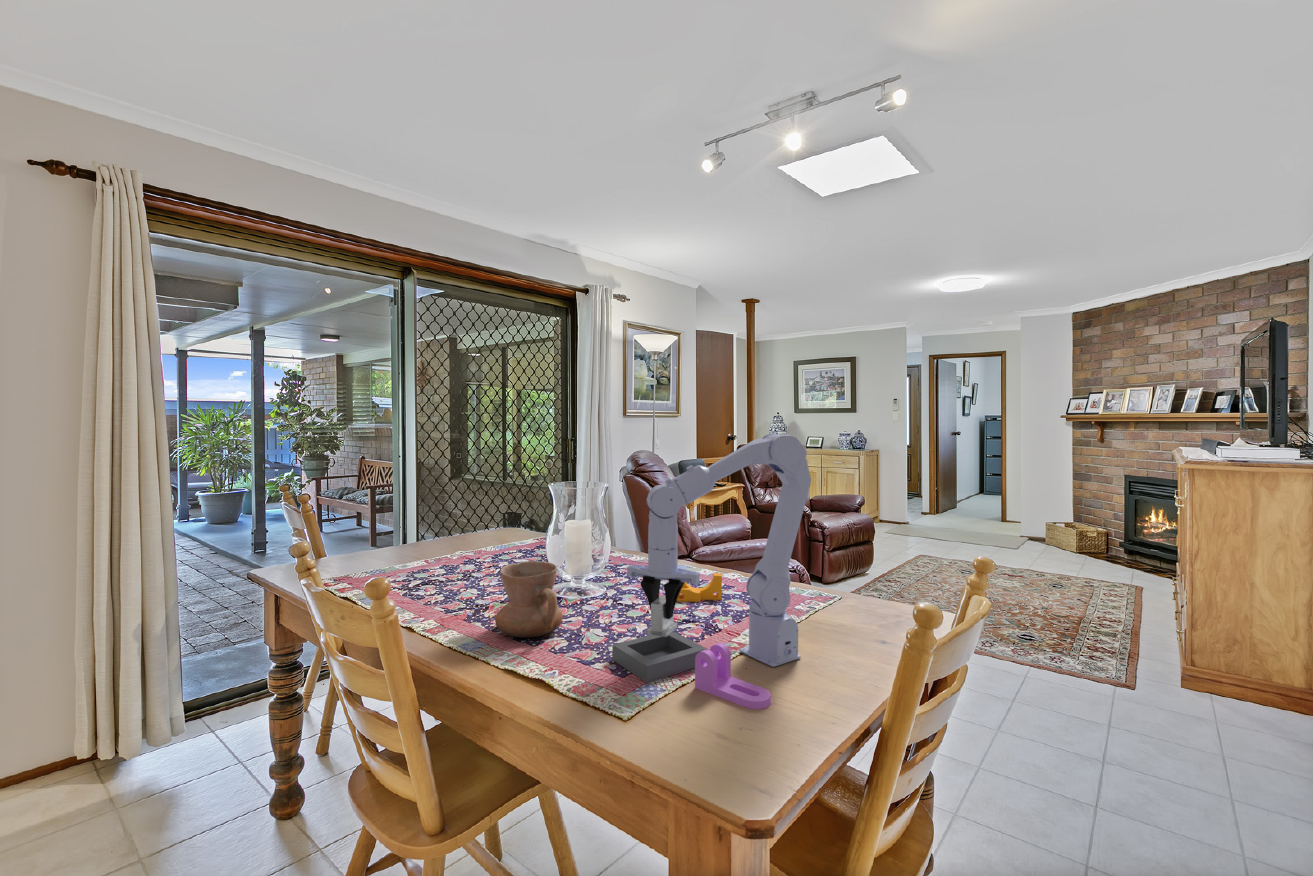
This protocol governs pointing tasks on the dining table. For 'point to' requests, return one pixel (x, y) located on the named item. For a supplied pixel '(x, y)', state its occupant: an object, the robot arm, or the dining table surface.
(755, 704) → the bracket
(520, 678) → the dining table surface
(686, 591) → the pipe clamp
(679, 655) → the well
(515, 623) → the ceramic jug
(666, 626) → the grey block
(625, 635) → the dining table surface
